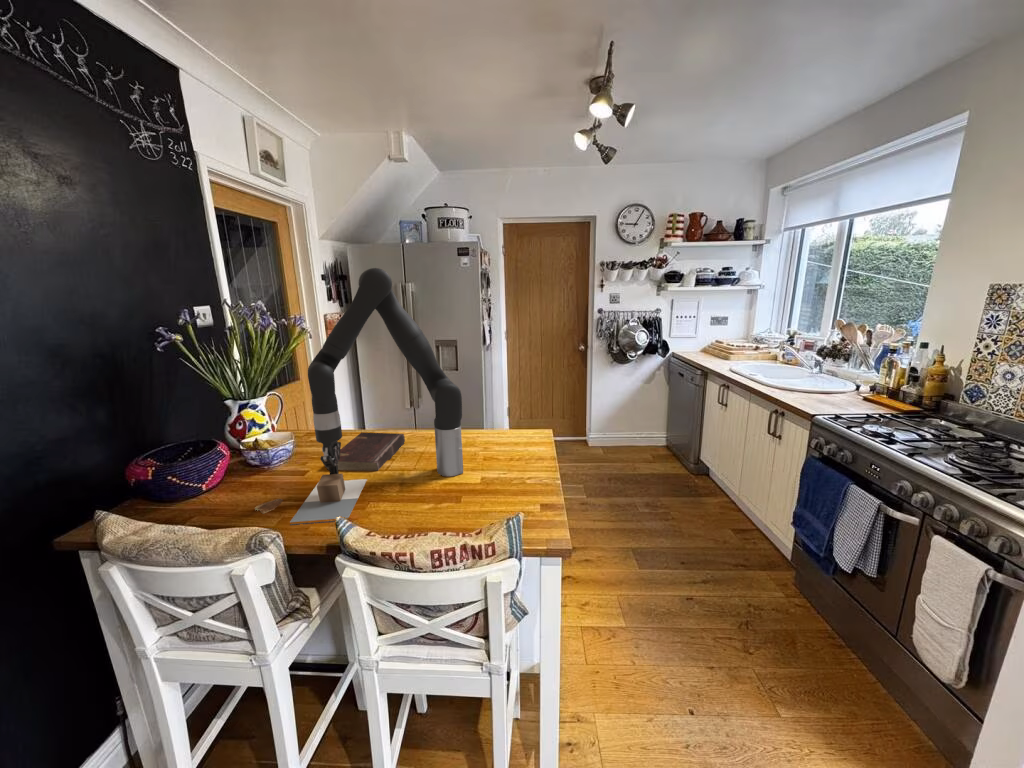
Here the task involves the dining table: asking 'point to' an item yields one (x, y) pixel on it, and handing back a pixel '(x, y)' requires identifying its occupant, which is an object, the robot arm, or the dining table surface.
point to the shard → (268, 505)
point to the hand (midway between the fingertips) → (334, 476)
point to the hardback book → (369, 451)
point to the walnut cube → (331, 488)
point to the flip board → (329, 504)
